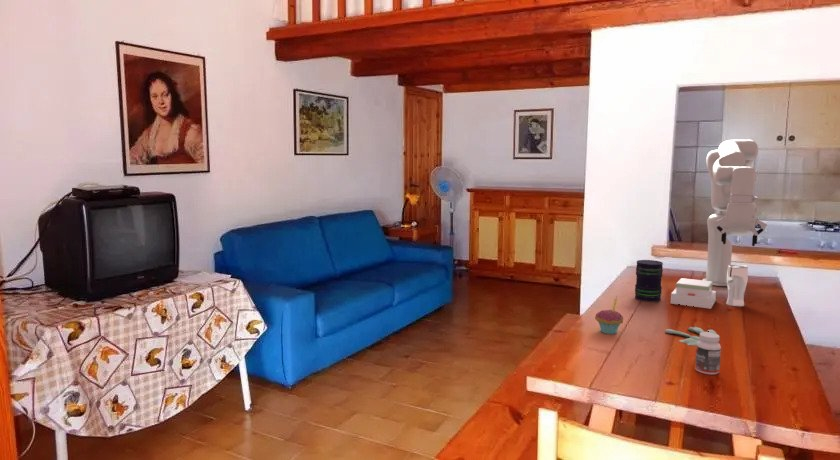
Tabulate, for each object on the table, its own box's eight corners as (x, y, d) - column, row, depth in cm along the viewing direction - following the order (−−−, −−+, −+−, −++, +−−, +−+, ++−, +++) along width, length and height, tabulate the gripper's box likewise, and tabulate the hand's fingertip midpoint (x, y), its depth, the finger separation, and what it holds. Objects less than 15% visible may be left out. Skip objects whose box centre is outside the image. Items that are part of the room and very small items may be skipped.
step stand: (676, 296, 228) (678, 276, 227) (715, 301, 221) (716, 281, 220) (670, 303, 217) (671, 283, 216) (710, 308, 209) (712, 287, 208)
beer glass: (740, 302, 218) (743, 264, 216) (749, 307, 211) (752, 268, 209) (721, 302, 219) (724, 264, 217) (729, 306, 212) (732, 267, 210)
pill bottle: (690, 367, 150) (692, 331, 149) (710, 366, 150) (713, 331, 149) (703, 375, 144) (705, 338, 143) (724, 374, 145) (726, 337, 144)
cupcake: (622, 329, 184) (624, 293, 182) (622, 337, 176) (624, 299, 174) (595, 326, 186) (596, 291, 185) (594, 334, 178) (595, 297, 177)
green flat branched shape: (690, 350, 165) (691, 342, 165) (642, 329, 186) (642, 322, 186) (746, 344, 171) (746, 337, 170) (693, 324, 191) (694, 317, 191)
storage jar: (634, 300, 222) (635, 263, 220) (634, 294, 231) (636, 259, 229) (661, 302, 218) (663, 265, 216) (660, 297, 227) (663, 260, 225)
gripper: (769, 200, 209) (765, 245, 211) (717, 198, 219) (714, 242, 220) (768, 201, 203) (764, 247, 205) (714, 199, 212) (711, 244, 214)
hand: (738, 244), depth 212 cm, fingers open, 9 cm apart
